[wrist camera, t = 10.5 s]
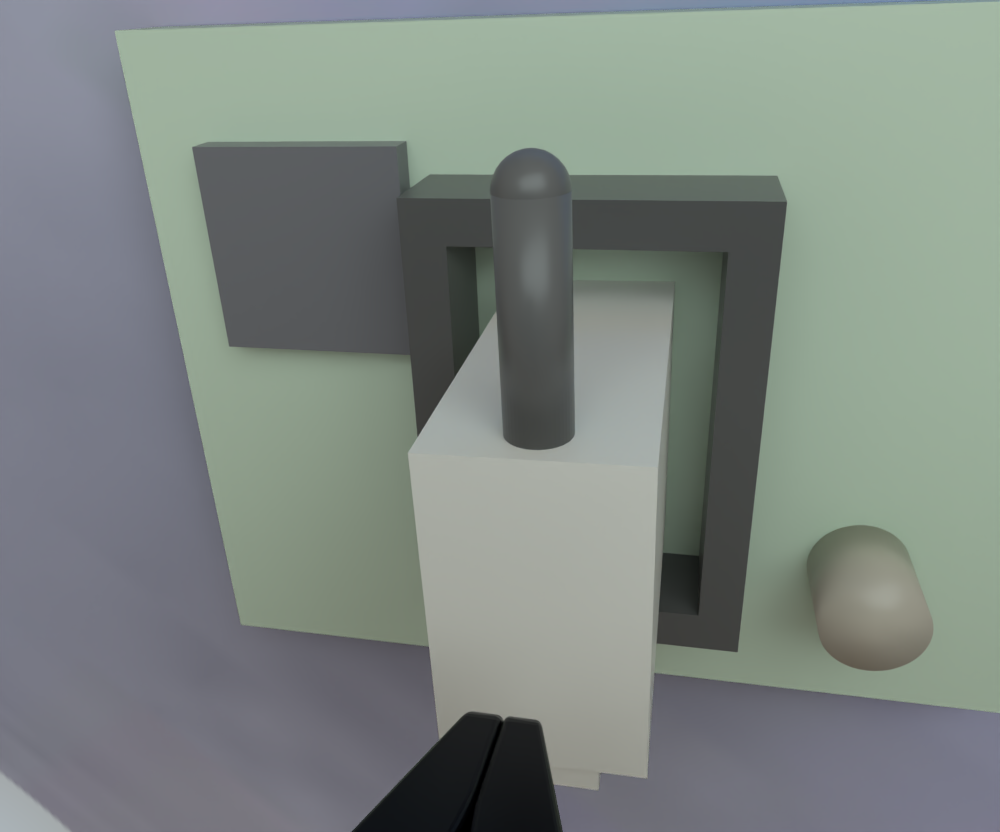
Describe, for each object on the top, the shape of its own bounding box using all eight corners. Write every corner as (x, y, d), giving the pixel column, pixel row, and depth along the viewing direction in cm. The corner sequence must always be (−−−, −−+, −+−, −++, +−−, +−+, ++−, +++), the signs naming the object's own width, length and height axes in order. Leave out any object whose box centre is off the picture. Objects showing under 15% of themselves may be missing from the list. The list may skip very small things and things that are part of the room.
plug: (508, 88, 15) (376, 162, 9) (683, 82, 15) (668, 157, 8) (526, 524, 19) (443, 780, 13) (664, 534, 19) (646, 808, 12)
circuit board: (1171, -8, 14) (1304, -4, 11) (985, 665, 20) (1037, 789, 17) (159, 26, 17) (43, 37, 14) (266, 588, 24) (202, 679, 21)
